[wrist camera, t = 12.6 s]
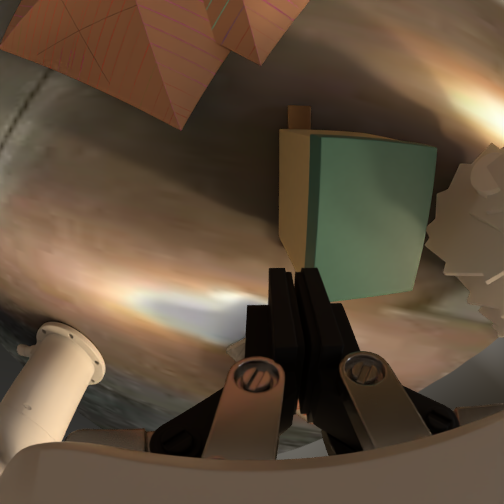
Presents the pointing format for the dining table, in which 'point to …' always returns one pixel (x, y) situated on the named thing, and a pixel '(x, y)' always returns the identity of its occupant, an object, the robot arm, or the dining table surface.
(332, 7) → the dining table surface
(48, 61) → the house
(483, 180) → the spiral staircase
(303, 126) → the oak strip
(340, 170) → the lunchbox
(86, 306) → the dining table surface
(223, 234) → the dining table surface
